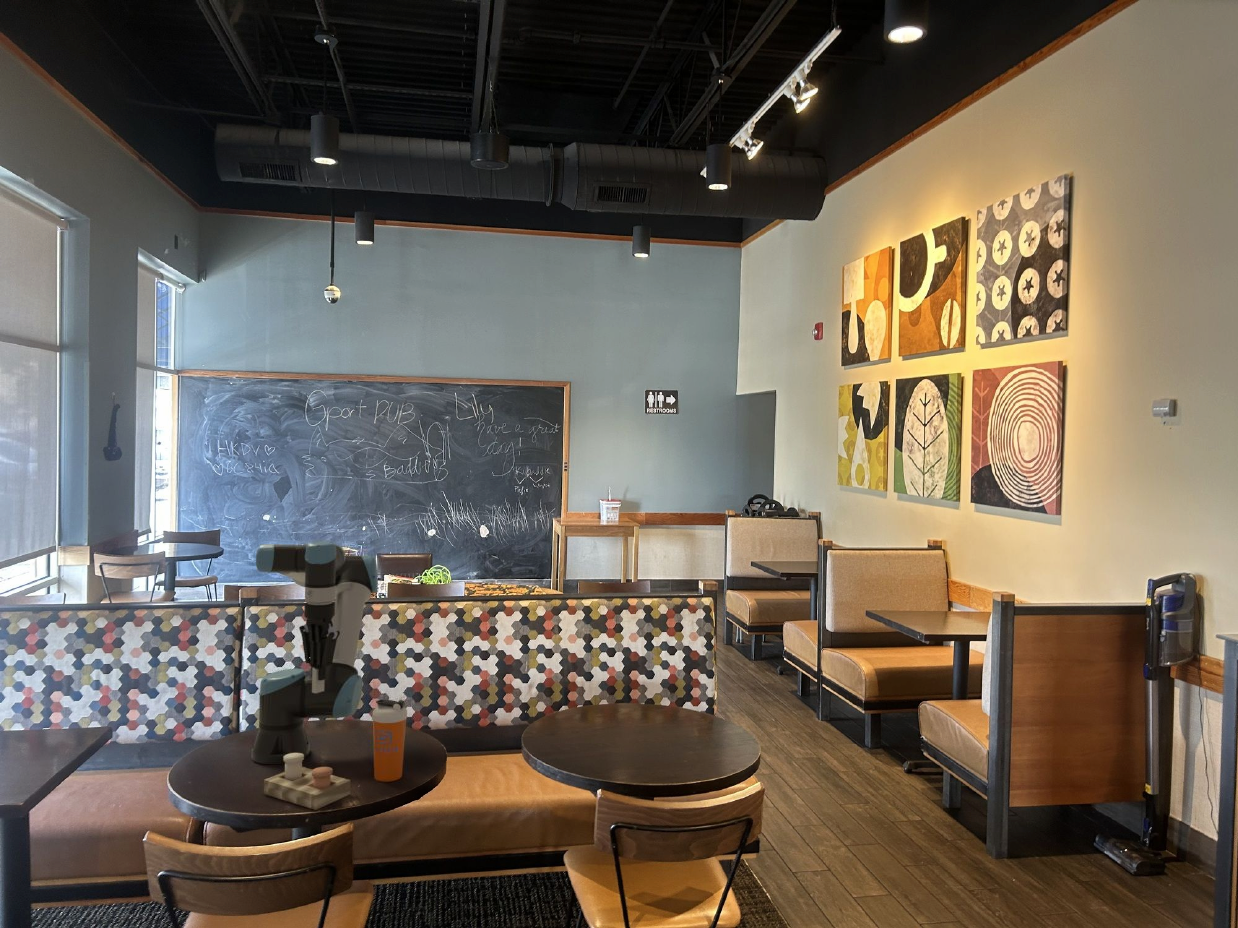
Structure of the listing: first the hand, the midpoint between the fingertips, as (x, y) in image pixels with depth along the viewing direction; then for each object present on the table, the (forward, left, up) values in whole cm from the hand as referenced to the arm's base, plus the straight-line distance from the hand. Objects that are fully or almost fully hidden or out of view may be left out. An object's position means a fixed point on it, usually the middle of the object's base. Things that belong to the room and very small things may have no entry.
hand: (318, 691), depth 221 cm
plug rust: (+11, -9, -23) cm, 27 cm away
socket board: (+6, -9, -23) cm, 25 cm away
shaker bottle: (+15, +10, -23) cm, 29 cm away
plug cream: (+1, -9, -21) cm, 23 cm away
